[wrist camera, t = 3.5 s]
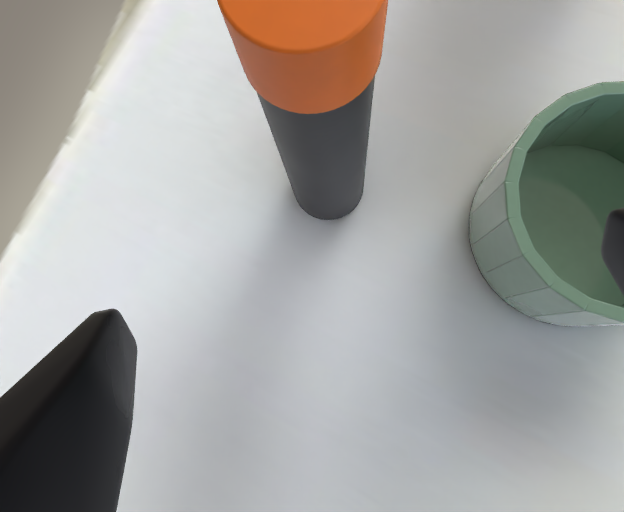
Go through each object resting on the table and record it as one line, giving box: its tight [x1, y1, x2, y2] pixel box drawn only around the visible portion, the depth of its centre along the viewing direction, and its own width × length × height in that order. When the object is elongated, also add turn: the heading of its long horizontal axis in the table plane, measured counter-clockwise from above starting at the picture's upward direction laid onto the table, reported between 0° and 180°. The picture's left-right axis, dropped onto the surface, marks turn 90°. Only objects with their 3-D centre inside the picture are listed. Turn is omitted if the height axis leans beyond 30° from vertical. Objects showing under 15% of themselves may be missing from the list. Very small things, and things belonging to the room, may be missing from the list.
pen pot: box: [469, 81, 624, 327], centre depth 18 cm, size 8×8×5 cm
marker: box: [217, 0, 388, 220], centre depth 15 cm, size 3×3×13 cm
